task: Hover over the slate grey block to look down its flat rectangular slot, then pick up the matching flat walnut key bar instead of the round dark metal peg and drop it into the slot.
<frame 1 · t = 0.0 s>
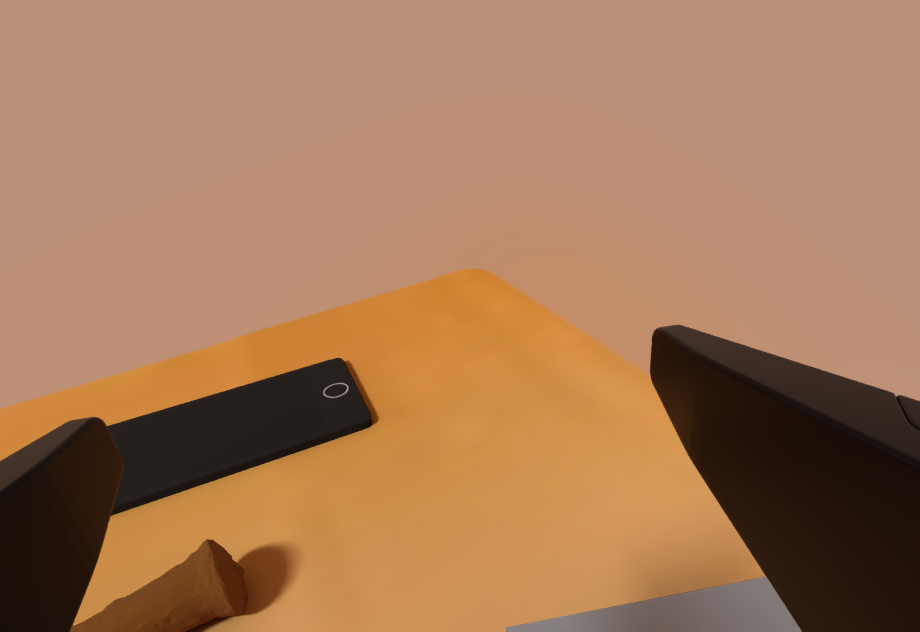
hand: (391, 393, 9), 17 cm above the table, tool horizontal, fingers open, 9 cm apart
cell phone: (225, 440, 37), on the table
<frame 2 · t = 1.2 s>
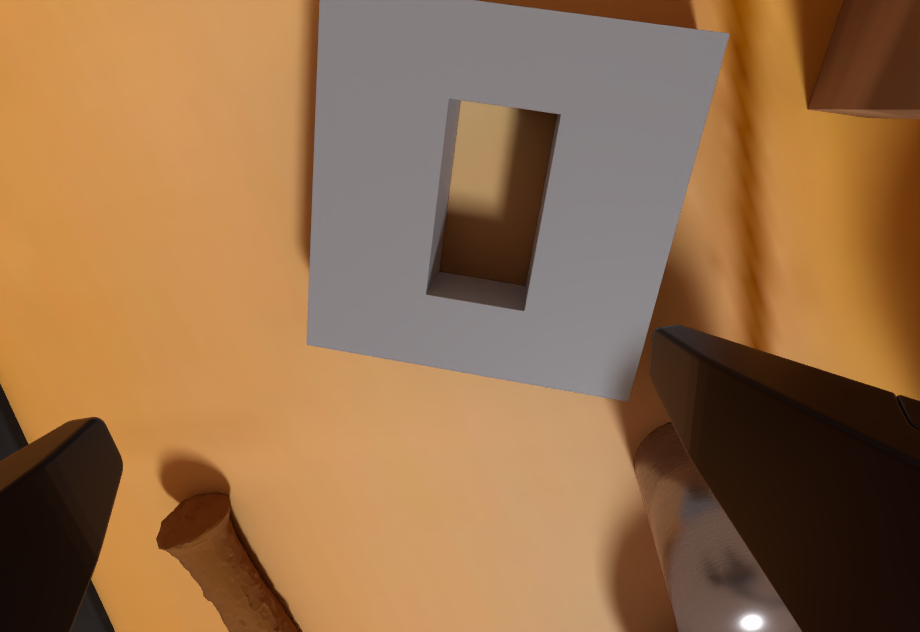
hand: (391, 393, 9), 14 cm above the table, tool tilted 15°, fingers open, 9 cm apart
slotted block: (494, 197, 21), on the table
primitive tool: (289, 626, 32), on the table
round metal peg: (688, 464, 24), on the table
walnut key bar: (867, 31, 18), on the table
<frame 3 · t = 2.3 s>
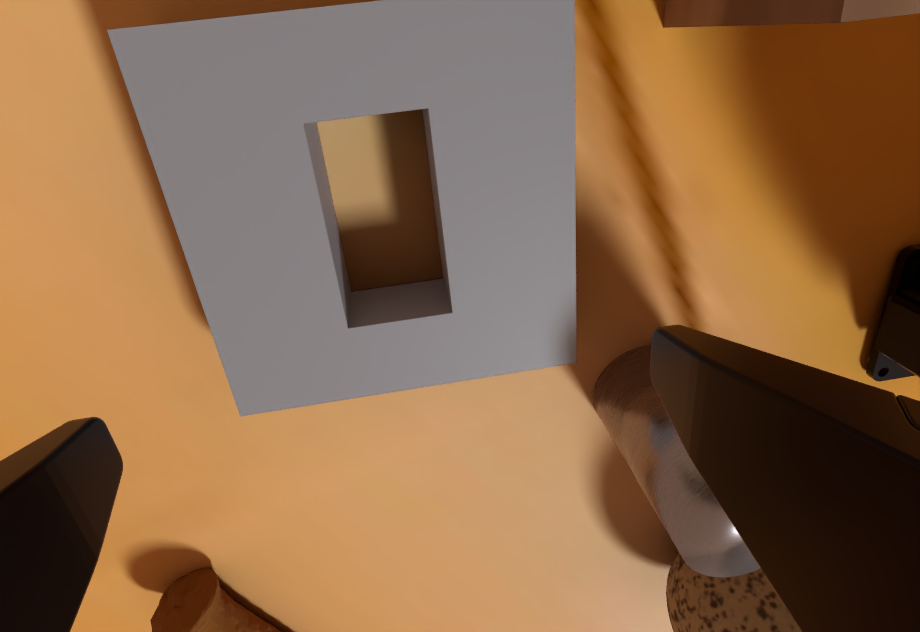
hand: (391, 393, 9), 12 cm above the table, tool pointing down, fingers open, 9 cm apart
decorative egg: (701, 542, 31), on the table
slotted block: (383, 201, 20), on the table
round metal peg: (642, 389, 25), on the table
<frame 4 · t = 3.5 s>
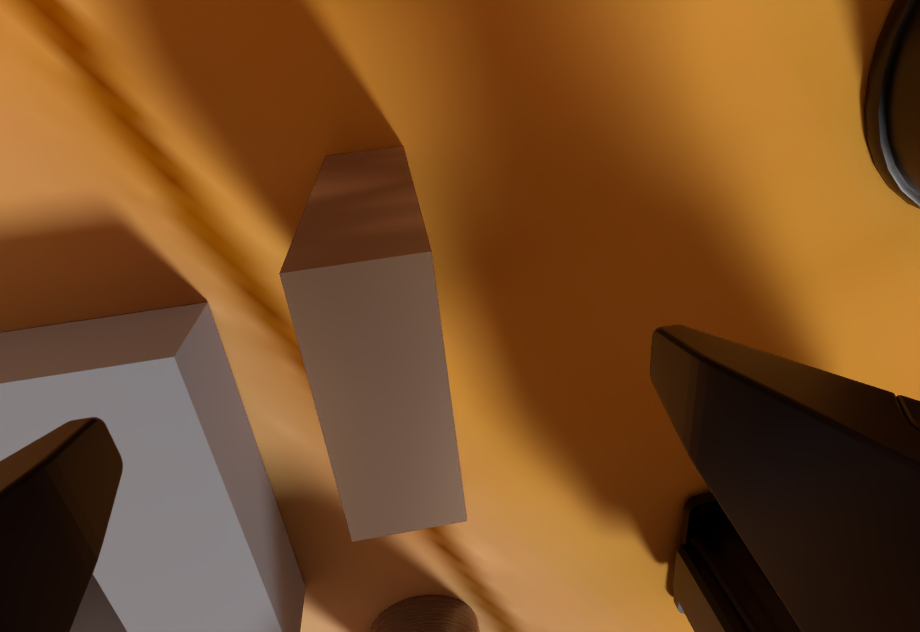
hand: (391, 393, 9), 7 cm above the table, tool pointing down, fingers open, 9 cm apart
slotted block: (74, 498, 18), on the table
walnut key bar: (380, 242, 16), on the table
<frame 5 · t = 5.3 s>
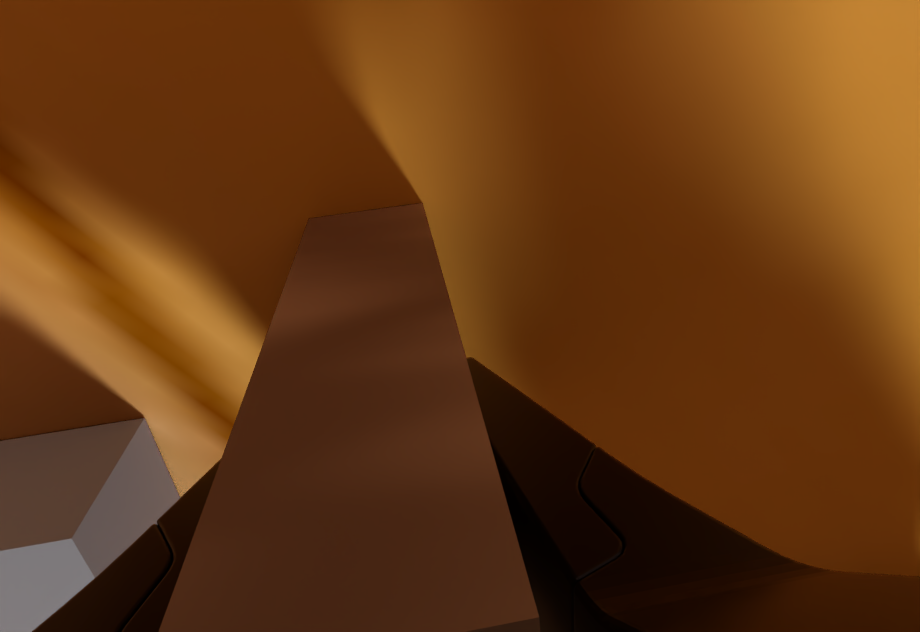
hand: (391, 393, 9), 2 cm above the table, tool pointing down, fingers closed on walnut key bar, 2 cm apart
walnut key bar: (388, 334, 11), on the table, touching gripper
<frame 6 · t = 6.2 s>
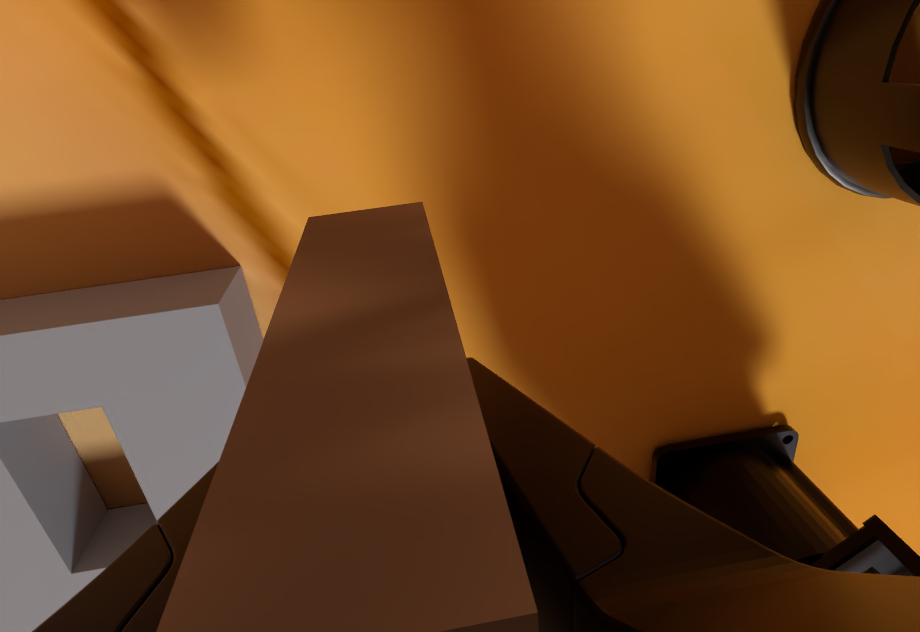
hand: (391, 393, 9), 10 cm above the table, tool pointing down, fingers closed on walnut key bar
slotted block: (122, 437, 21), on the table
walnut key bar: (388, 333, 11), point 8 cm above the table, touching gripper
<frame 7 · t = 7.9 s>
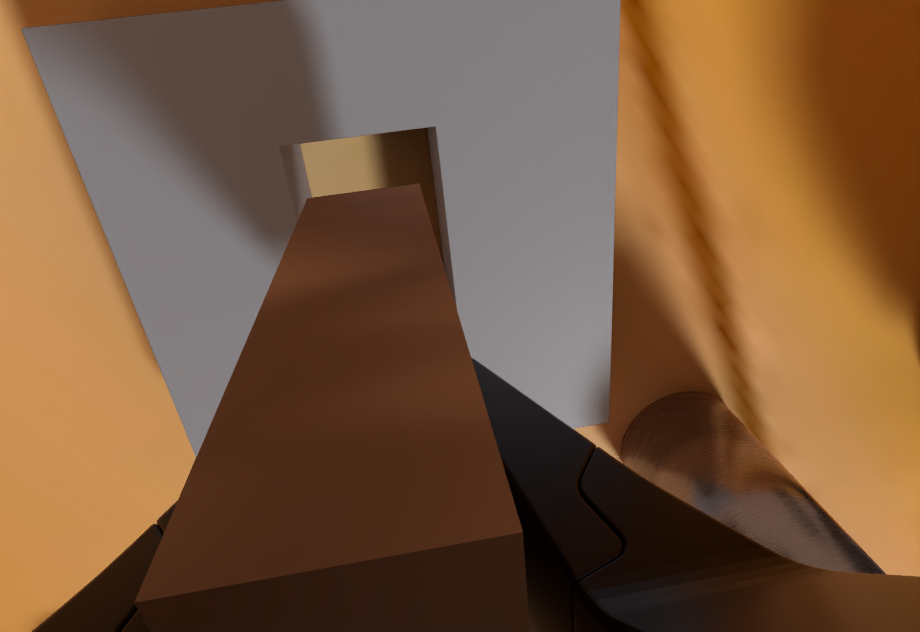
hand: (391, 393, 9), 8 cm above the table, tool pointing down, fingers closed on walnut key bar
slotted block: (380, 232, 17), on the table
round metal peg: (676, 439, 22), on the table
walnut key bar: (386, 315, 11), point 6 cm above the table, touching gripper
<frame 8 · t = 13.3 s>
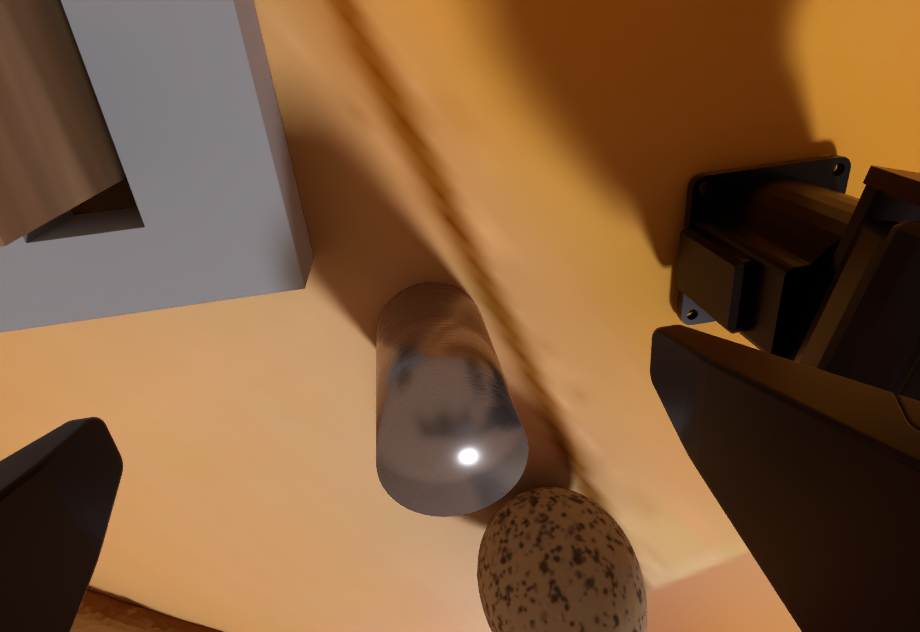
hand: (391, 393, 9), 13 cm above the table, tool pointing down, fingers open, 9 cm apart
decorative egg: (533, 504, 29), on the table
slotted block: (87, 111, 18), on the table
primitive tool: (95, 594, 28), on the table
round metal peg: (430, 332, 24), on the table
walnut key bar: (83, 94, 18), resting in slotted block
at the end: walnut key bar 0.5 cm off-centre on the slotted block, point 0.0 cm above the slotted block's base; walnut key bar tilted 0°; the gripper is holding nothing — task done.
